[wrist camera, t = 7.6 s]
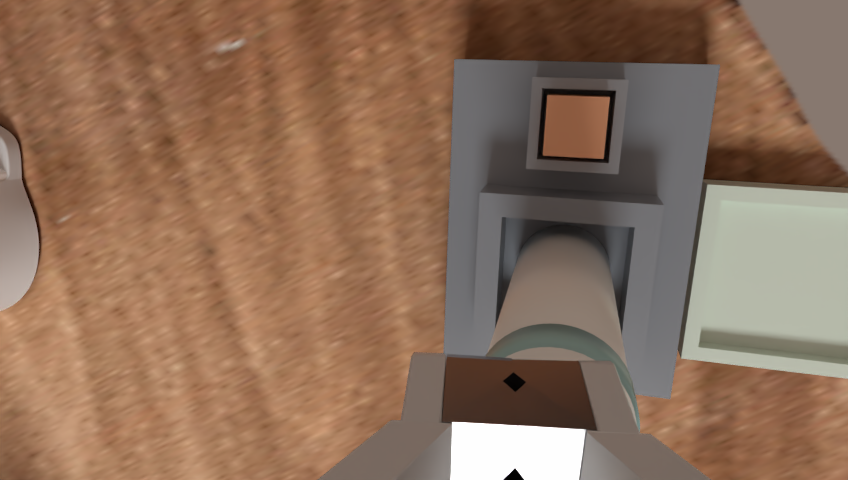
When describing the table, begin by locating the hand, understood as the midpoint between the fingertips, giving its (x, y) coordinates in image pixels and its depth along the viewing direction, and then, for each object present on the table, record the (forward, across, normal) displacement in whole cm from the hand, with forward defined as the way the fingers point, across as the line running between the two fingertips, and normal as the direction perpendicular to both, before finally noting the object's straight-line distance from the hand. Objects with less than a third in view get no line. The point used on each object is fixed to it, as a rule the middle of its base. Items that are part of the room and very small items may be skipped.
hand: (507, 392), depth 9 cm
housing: (+26, +5, -7) cm, 28 cm away
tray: (+24, +17, -9) cm, 31 cm away
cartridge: (+23, +5, -9) cm, 25 cm away
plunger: (+24, +5, -1) cm, 24 cm away
